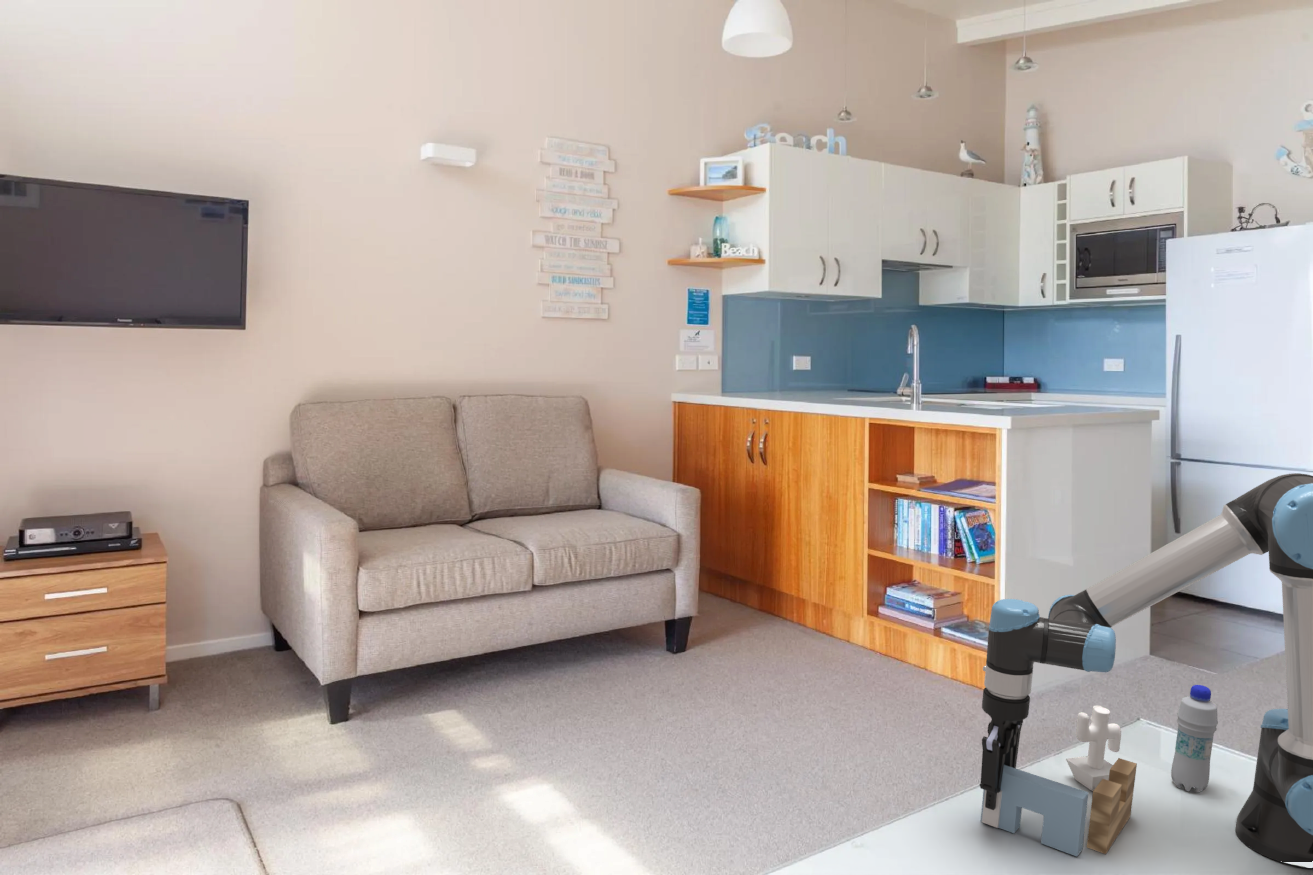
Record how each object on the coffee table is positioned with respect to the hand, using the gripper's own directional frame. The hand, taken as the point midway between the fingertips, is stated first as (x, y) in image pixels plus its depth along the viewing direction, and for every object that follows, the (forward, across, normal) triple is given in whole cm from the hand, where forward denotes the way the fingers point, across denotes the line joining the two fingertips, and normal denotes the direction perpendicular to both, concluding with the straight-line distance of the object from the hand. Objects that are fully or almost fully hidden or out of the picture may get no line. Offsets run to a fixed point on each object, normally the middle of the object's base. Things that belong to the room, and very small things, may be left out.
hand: (994, 819), depth 169 cm
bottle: (+1, -39, +23) cm, 45 cm away
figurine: (+1, -27, +9) cm, 28 cm away
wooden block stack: (+1, -11, +16) cm, 19 cm away
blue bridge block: (0, 0, +6) cm, 6 cm away
